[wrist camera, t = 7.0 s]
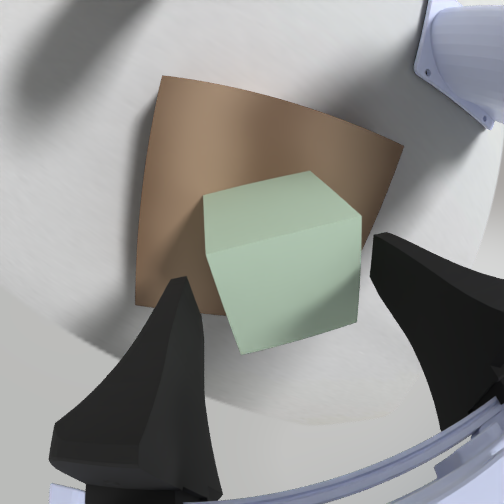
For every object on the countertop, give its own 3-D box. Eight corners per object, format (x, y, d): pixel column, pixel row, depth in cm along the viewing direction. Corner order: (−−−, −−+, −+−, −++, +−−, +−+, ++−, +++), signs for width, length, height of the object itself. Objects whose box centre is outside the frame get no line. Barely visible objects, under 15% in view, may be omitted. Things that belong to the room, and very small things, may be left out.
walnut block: (371, 133, 16) (404, 145, 13) (309, 289, 22) (325, 321, 19) (171, 78, 13) (162, 75, 10) (143, 269, 18) (135, 305, 16)
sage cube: (309, 170, 13) (361, 216, 9) (318, 258, 16) (356, 322, 12) (203, 195, 13) (205, 254, 9) (228, 281, 16) (241, 355, 11)
